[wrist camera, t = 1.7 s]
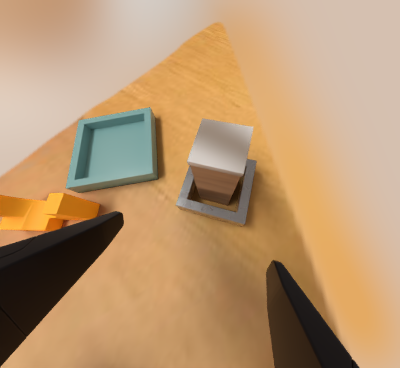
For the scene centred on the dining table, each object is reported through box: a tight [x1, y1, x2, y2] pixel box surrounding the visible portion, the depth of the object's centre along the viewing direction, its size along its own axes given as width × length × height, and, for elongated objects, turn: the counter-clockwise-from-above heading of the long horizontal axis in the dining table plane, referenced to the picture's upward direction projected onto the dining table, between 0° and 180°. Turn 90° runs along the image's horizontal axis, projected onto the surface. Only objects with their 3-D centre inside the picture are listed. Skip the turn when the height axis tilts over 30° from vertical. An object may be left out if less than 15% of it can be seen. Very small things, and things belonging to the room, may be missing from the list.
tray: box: [66, 107, 158, 193], centre depth 26 cm, size 14×14×2 cm
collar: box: [176, 159, 256, 226], centre depth 22 cm, size 9×9×3 cm
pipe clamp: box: [0, 193, 100, 231], centre depth 21 cm, size 12×4×6 cm, turn 89°
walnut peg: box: [187, 119, 253, 205], centre depth 18 cm, size 5×5×12 cm
